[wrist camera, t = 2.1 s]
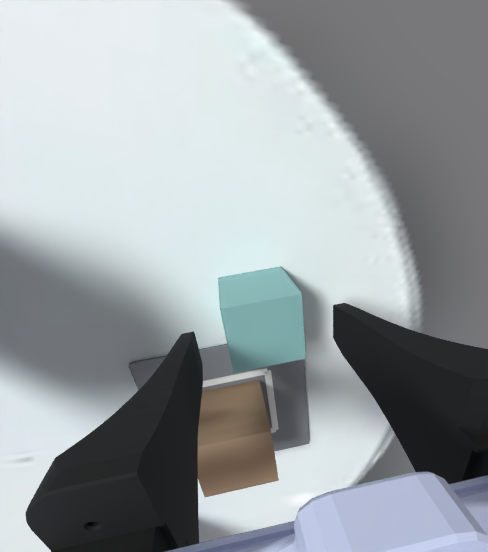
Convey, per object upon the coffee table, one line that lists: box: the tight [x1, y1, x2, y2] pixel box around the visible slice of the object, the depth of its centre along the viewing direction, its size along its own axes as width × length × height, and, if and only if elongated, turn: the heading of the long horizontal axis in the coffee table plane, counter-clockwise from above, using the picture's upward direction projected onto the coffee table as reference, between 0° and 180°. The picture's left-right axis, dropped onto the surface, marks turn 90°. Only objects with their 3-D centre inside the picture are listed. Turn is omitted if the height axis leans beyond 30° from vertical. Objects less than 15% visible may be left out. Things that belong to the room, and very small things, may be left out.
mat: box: [129, 344, 309, 451], centre depth 19 cm, size 12×12×1 cm
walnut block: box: [198, 380, 278, 497], centre depth 17 cm, size 5×5×4 cm
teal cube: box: [218, 267, 306, 373], centre depth 14 cm, size 4×4×4 cm
